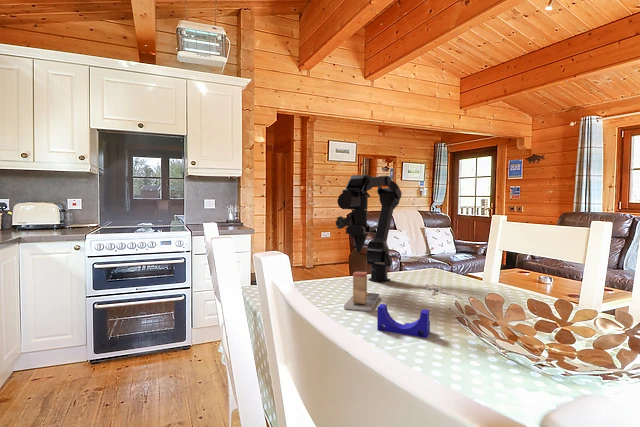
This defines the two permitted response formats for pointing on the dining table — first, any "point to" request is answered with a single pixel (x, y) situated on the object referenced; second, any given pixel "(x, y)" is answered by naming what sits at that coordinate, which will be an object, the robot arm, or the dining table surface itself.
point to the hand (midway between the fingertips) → (358, 252)
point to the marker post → (360, 287)
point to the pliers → (435, 288)
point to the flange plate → (368, 306)
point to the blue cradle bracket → (390, 325)
